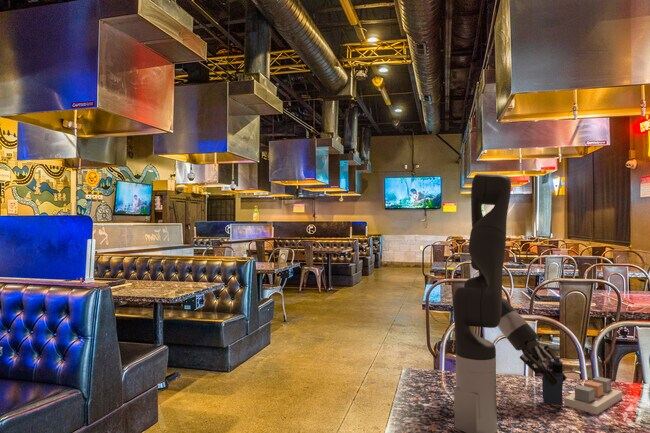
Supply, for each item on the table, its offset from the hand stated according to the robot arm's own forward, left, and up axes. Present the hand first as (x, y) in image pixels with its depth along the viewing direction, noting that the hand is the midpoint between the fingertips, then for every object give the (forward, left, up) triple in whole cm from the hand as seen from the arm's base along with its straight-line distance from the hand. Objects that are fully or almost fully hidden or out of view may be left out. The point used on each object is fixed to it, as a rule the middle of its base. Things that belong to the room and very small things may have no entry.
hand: (559, 382), depth 120 cm
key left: (+3, -5, -4) cm, 7 cm away
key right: (+15, -5, -4) cm, 16 cm away
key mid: (+9, -5, -4) cm, 11 cm away
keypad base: (+9, -5, -6) cm, 12 cm away
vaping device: (0, +2, -6) cm, 6 cm away
